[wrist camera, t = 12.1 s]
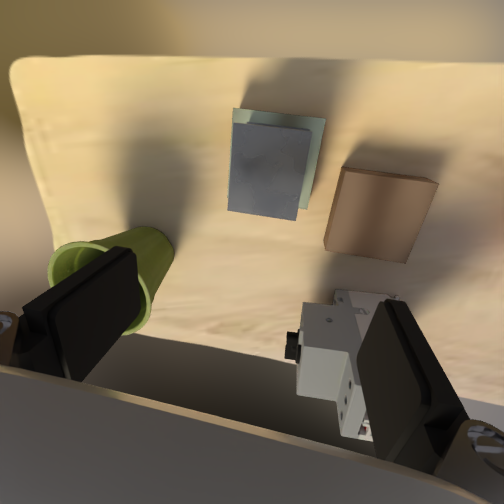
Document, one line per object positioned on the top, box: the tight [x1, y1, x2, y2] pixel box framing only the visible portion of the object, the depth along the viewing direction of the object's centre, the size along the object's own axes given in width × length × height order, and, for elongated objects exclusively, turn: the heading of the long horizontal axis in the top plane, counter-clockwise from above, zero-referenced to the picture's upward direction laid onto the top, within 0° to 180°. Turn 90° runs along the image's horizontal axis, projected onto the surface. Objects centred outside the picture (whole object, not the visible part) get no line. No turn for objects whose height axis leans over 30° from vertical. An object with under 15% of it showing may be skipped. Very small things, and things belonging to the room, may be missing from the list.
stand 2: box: [324, 167, 439, 264], centre depth 30 cm, size 9×9×3 cm
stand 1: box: [227, 108, 326, 210], centre depth 29 cm, size 9×9×3 cm
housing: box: [227, 122, 312, 221], centre depth 25 cm, size 6×7×7 cm
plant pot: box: [48, 227, 174, 335], centre depth 34 cm, size 12×12×11 cm
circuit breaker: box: [285, 289, 400, 441], centre depth 32 cm, size 8×14×15 cm, turn 89°
